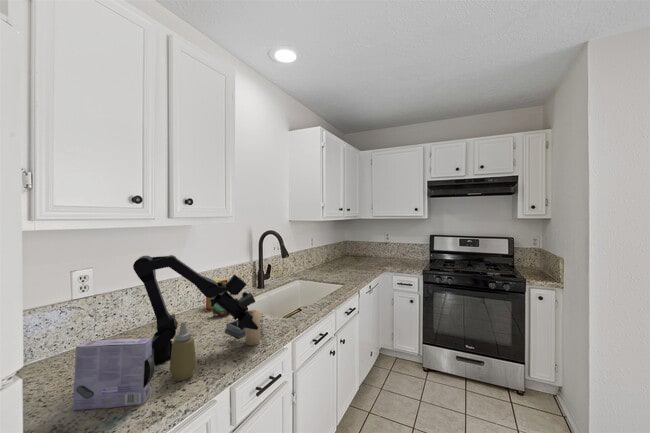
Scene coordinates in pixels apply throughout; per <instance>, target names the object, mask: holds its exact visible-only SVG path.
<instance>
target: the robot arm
mask: <svg viewBox="0 0 650 433" xmlns="http://www.w3.org/2000/svg"><path fill="white" fill-rule="evenodd" d="M132 266H133V267H132V268H133V271H134V272H135V274H136V275H137V277H138V278H139V280H140V281H141V282H142V283H143V284H144V288H145V291H146V293H147V296H148V299H149V302H150V305H151V307H152V310H153V312H154V315H155V319H156V320H155V321H156V332H154V333H153V336H152V357H153V359H154V365H155V366H157V365H160V364H163V363H166V362H168V361H170V360H171V351H172V343H173V340H172V339H174V337H175V335H176V334H177V329H178V323H179V322H178V321H177V319H176V314H175V313H173V314H171V313H169V311H168V308H167V306H166V303H165V300H164V297H163V294H162V292H161V289H160V285H159V284H158V280H157V276H156V274H157V272H156V271H157V270H160V269H161V270H162V269H165V268H166V269H167V268H169V269H171V270H173V271H174V272H176V273H177V274H178V275H180V276H182V278H184V279H186V281H189V283H192V285H195V287H196V288H197V289H198V291H200V292H201V293H202V294H203V295H204V296H205V298H206V297H208V298H210V301H211V303H210V304H211V307H213V306H214V305H215V303H216V304H218V305H219V306H220V307H221V308H223V309H224V310H225V311H226V313H227V314H230V316H231V317H232V318H233V320H234V321H236V320H237V326H238V327H239V328H240V329H241V330H242V329H243V328H249V329H254V330H257V329H258V326H257V325H256V324H255V323H254V321H253V320H252V318H253V316H252V314H251V313H250V312H248V311H247V310H249V308H248V307H249V306H251V305H252V304H255V302H256V299H255V297H254V294H253V293H251V292H246V291H244V292H243V293H242V294H241V297H240V298H239V299H238V298H237V297H236V298H235V297H234V296H238V295H239V294H240V293H241V292H242V291H243V290H244V289H245V287H246V286H247V283H246V282H245V281H244V280H243V279H242V278H241V277H239V276H238V275H236V274H235V273H234V274H233V275H232V276H231V277H230V279H229V280H227V283H226V284H225V283H217V282H216V281H214V279H211V278H210V277H207V276H203V275H202V274H200V273H199V272H197V271H196V270H194V269H193V268H192V267H190V266H189V265H187V264H186V263H184V262H183V261H181V260H180V259H179V258H177V257H176V256H175V255H173V254H171V255H161V256H150V255H142V256H140V257H139V258H137V259H136V260H135V261H134V263H133V265H132ZM230 293H231V294H232V296H233V297H232V296H231V295H230ZM213 297H214V298H213ZM246 311H247V312H246Z"/></svg>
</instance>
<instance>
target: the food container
mask: <svg viewBox="0 0 650 433" xmlns="http://www.w3.org/2000/svg"><path fill="white" fill-rule="evenodd" d="M229 294H230V295H231V296H232V297H233V298H234V295H232V294H231V293H229ZM212 310H213V311H212V317H213V318H224V317H227V316H229V315H230V314H227V313H226V311H225V310H224V309H223V308H221V307H220V306H219V305H218V304H216V303H215V305H214V306H213V307H212ZM230 316H231V315H230Z"/></svg>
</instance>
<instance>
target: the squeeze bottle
mask: <svg viewBox="0 0 650 433" xmlns="http://www.w3.org/2000/svg"><path fill="white" fill-rule="evenodd" d="M174 337H175V338H174V340H173V341H172V351H171V360H169V361H170V362H169V371H170V373H171V374H170V375H171V376H172V378H173V379H174V381H178V382H179V381H180V382H181V381H185V380H186V379H187V380H188V379H190V378H191V377H192V376H193V375H194V371H195V368H196V365H197V356H196V348H195V347H196V346H195V338H193V337H192V332H191V331H190V330H188V328H187V325H186V321H182V322H180V327H179V332H176V334H175V336H174Z"/></svg>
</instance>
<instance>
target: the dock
mask: <svg viewBox="0 0 650 433" xmlns="http://www.w3.org/2000/svg"><path fill="white" fill-rule="evenodd" d="M237 320H238V319H236V320H234V321H231V322H228V323H226V324H225V325H226V326H225V327H226V328H224V333H227V334H229V335H232V336H234V337H236V338H238V339H241V338H243V337H245V328H243V329H242V330H241V329H240V328H239V327H238V326H237Z"/></svg>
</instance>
